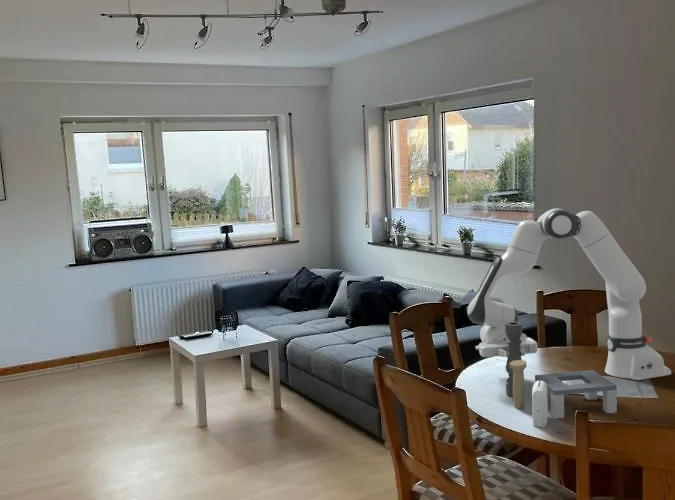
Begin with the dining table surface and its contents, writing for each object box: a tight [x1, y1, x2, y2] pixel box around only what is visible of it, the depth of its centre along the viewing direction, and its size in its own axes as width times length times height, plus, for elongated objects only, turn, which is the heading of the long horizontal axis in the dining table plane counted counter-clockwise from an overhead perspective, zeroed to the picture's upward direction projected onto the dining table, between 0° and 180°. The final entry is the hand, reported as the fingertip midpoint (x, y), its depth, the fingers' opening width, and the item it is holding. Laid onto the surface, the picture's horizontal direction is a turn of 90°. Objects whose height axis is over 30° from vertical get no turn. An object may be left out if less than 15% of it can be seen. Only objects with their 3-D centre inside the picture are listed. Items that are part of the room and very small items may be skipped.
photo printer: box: [531, 381, 549, 428], centre depth 206 cm, size 10×4×12 cm, turn 160°
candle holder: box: [505, 321, 523, 398], centre depth 230 cm, size 6×6×25 cm
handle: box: [510, 359, 527, 410], centre depth 218 cm, size 5×6×15 cm
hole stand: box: [534, 369, 618, 420], centre depth 216 cm, size 20×16×9 cm
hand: (515, 354), depth 229 cm, fingers closed on candle holder, 4 cm apart
